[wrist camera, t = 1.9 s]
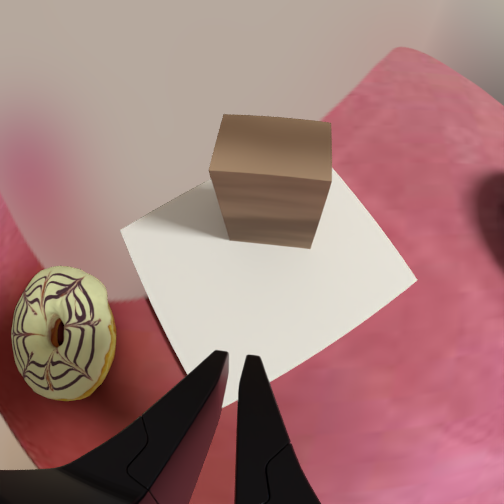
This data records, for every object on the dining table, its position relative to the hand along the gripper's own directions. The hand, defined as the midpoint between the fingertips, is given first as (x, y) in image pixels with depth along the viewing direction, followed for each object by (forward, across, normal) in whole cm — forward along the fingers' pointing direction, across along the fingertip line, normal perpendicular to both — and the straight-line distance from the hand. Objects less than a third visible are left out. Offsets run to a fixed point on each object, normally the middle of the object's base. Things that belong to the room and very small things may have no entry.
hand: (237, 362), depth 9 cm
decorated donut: (+9, +15, +10) cm, 20 cm away
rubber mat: (+14, 0, +3) cm, 15 cm away
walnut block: (+16, 0, +1) cm, 16 cm away
